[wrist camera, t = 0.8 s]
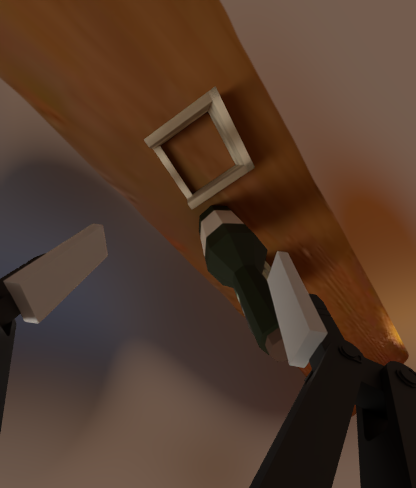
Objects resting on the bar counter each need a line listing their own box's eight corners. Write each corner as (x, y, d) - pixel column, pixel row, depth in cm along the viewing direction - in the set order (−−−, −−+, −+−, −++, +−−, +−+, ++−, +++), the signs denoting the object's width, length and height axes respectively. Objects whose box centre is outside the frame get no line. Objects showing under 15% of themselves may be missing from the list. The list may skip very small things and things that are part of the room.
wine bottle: (243, 214, 41) (368, 321, 13) (225, 247, 43) (298, 396, 16) (208, 197, 38) (270, 283, 11) (191, 233, 41) (206, 377, 13)
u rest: (150, 143, 34) (143, 139, 28) (209, 99, 32) (215, 86, 27) (190, 202, 38) (191, 209, 33) (244, 166, 37) (254, 167, 32)
